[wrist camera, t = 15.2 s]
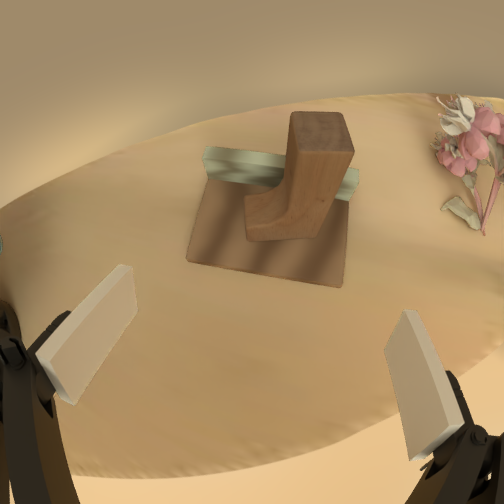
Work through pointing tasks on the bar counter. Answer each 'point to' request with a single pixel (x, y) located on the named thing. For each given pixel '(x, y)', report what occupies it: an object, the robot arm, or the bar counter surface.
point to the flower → (471, 151)
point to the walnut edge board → (273, 251)
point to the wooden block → (302, 180)
